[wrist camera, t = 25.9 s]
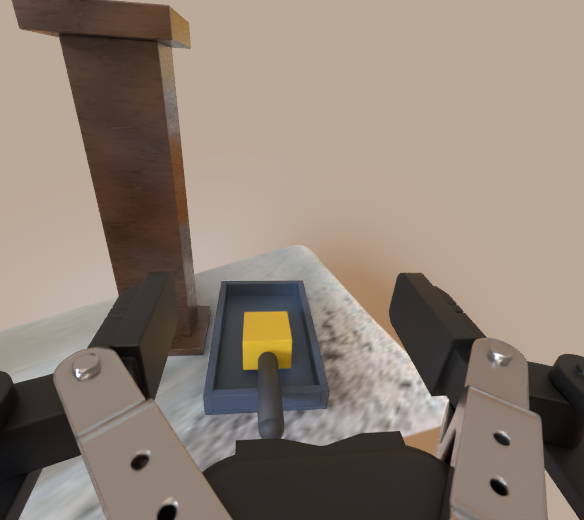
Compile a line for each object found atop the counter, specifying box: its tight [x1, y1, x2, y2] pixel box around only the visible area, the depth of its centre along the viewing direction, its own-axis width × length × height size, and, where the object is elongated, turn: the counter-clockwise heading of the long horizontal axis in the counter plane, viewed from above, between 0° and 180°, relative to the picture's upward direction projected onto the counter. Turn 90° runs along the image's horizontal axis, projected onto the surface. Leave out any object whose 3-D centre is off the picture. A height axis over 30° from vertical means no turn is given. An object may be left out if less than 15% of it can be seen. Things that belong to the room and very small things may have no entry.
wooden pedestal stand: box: [12, 0, 211, 356], centre depth 33 cm, size 10×8×32 cm
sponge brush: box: [243, 311, 292, 439], centre depth 32 cm, size 5×16×4 cm, turn 5°
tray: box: [203, 281, 329, 415], centre depth 40 cm, size 12×20×2 cm, turn 6°
